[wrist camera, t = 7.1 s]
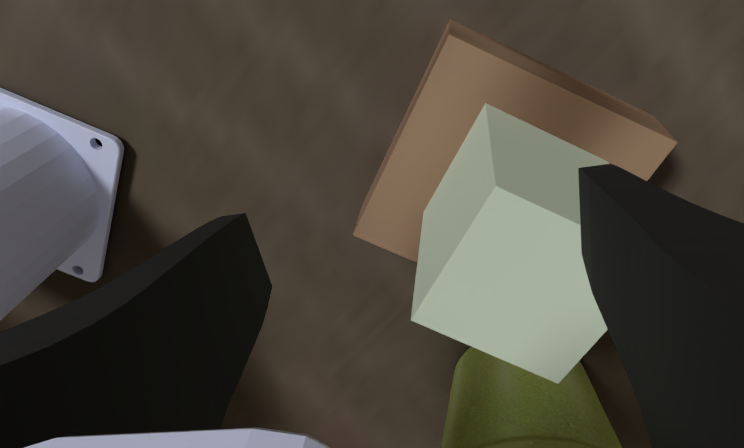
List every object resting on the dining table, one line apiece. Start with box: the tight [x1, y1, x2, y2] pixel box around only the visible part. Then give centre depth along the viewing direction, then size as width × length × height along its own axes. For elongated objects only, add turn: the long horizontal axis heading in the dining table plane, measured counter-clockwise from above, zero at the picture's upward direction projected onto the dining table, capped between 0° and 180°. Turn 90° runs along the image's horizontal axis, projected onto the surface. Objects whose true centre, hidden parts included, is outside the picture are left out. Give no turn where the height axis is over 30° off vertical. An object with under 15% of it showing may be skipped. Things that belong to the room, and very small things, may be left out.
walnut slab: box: [353, 19, 677, 263], centre depth 21 cm, size 8×8×3 cm
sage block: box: [411, 103, 609, 384], centre depth 17 cm, size 4×4×6 cm
